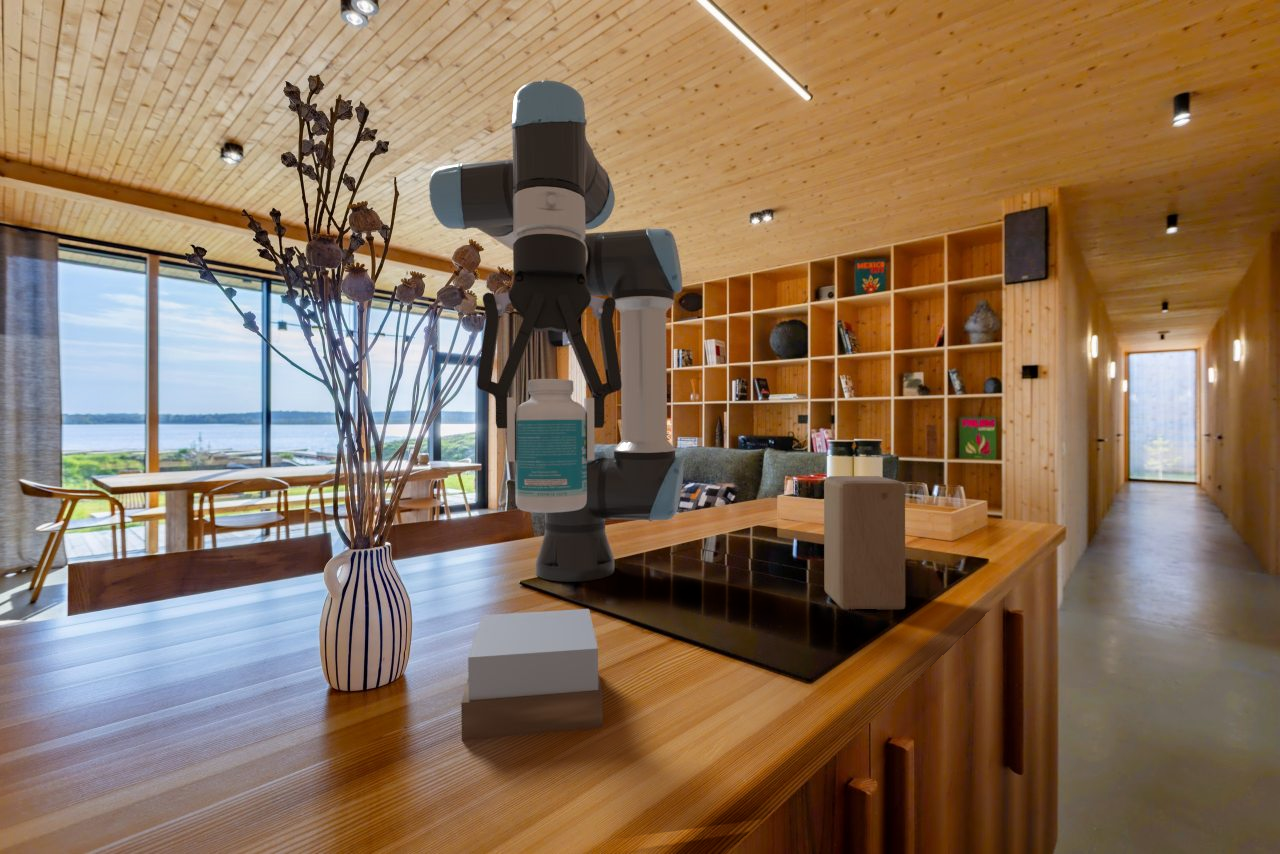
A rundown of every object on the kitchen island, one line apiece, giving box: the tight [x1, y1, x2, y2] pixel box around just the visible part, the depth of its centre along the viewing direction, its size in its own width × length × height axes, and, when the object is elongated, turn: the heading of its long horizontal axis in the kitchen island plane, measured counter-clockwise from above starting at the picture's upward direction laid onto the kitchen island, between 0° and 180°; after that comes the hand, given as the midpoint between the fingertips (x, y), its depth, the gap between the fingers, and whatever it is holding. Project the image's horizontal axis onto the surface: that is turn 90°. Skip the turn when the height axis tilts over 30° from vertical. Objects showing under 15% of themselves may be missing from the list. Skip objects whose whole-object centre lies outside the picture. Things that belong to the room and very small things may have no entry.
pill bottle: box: [514, 378, 587, 514], centre depth 61 cm, size 8×7×14 cm
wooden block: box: [823, 475, 906, 611], centre depth 94 cm, size 10×10×20 cm
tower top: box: [467, 608, 599, 700], centre depth 61 cm, size 12×12×4 cm
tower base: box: [460, 673, 604, 741], centre depth 61 cm, size 13×13×4 cm
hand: (550, 459), depth 62 cm, fingers closed on pill bottle, 7 cm apart
